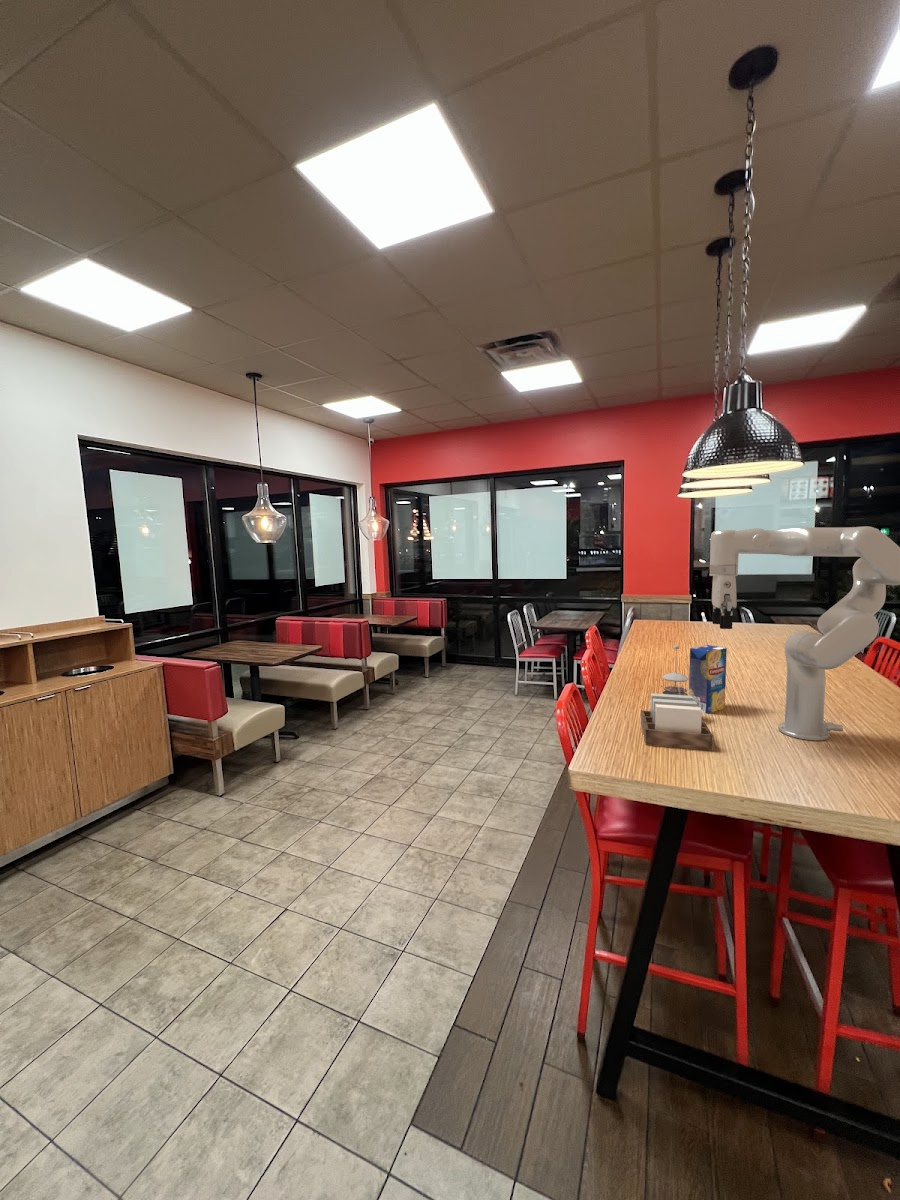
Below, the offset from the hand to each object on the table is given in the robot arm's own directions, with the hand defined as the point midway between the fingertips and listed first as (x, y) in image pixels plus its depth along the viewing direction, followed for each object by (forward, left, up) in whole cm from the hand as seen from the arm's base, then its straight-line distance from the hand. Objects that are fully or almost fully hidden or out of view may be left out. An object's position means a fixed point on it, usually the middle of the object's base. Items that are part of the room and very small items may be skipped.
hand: (721, 626), depth 146 cm
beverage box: (-1, -23, -34) cm, 41 cm away
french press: (+11, -10, -34) cm, 37 cm away
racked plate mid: (+14, +8, -33) cm, 37 cm away
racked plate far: (+14, +2, -33) cm, 36 cm away
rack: (+14, +8, -33) cm, 37 cm away
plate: (+14, +14, -32) cm, 38 cm away
